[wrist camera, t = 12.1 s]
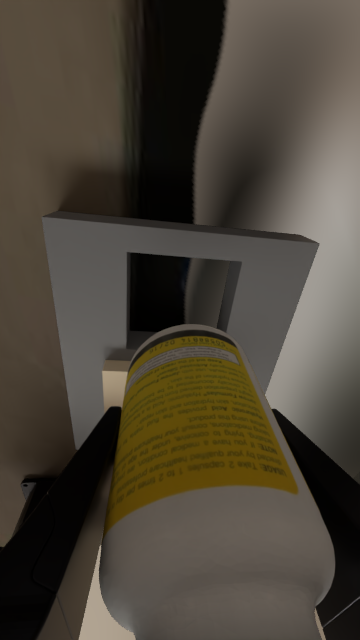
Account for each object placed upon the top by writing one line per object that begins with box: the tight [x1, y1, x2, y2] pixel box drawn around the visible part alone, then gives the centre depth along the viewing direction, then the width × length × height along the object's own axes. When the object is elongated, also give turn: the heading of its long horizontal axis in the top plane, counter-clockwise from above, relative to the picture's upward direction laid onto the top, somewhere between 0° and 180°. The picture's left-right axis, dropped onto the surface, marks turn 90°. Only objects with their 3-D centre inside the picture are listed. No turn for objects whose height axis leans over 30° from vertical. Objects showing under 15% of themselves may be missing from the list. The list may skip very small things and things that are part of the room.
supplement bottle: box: [99, 324, 335, 640], centre depth 8 cm, size 5×5×10 cm
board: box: [42, 211, 319, 450], centre depth 21 cm, size 20×16×2 cm
